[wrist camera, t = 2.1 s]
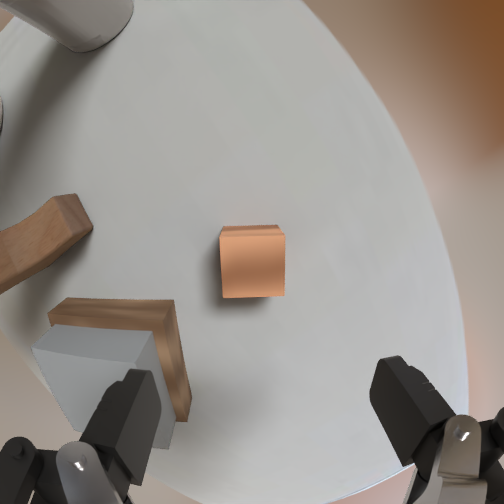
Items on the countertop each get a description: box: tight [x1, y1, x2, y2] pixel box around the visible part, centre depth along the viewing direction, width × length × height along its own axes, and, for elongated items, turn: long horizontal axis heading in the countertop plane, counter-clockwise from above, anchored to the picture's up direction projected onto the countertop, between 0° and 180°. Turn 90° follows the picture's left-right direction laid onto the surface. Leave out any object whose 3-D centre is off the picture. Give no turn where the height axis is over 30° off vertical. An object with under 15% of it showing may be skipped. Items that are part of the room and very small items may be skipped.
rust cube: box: [219, 225, 285, 298], centre depth 24 cm, size 5×5×5 cm
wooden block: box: [0, 193, 93, 294], centre depth 16 cm, size 9×4×18 cm, turn 119°
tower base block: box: [47, 298, 192, 422], centre depth 27 cm, size 14×14×5 cm
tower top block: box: [31, 324, 176, 449], centre depth 22 cm, size 12×12×5 cm
